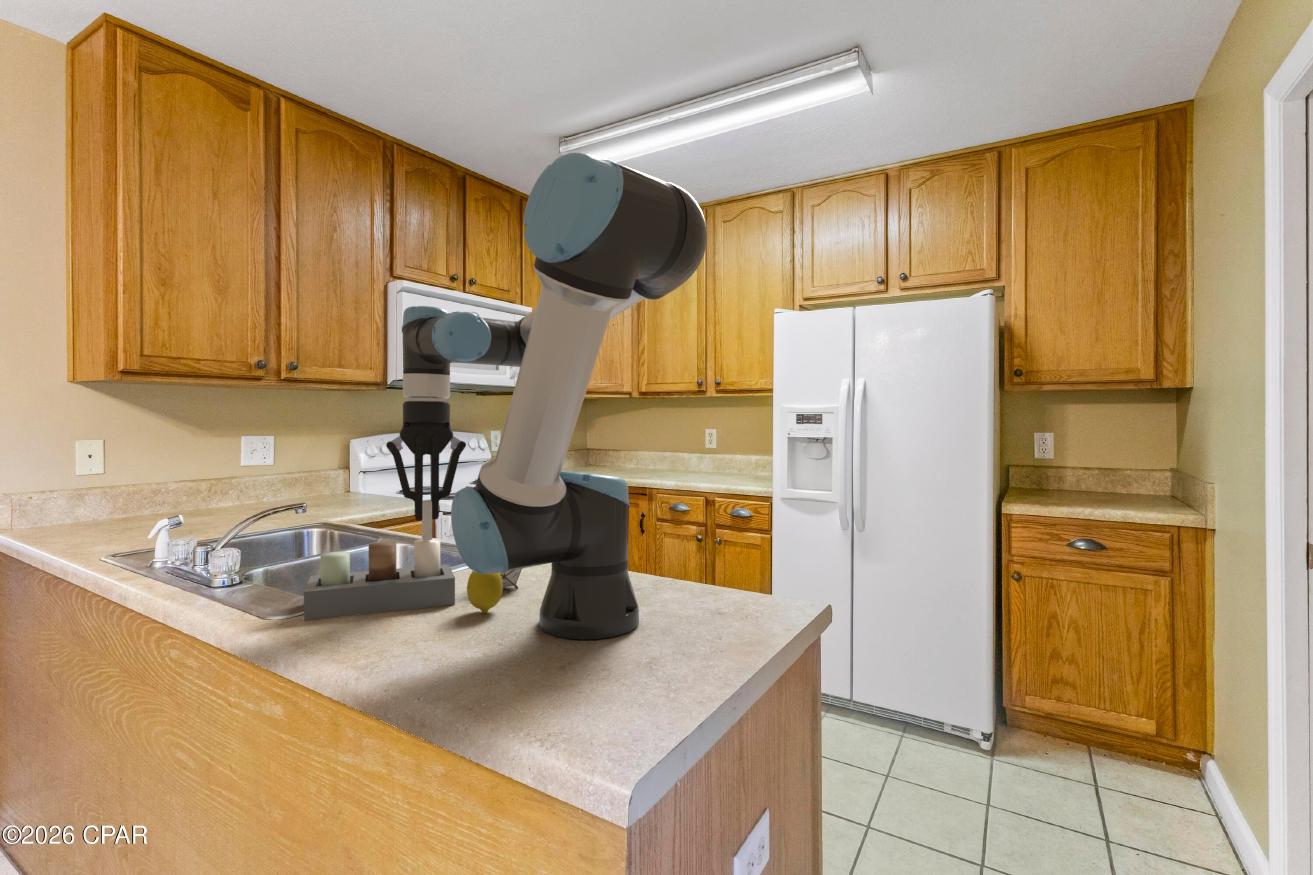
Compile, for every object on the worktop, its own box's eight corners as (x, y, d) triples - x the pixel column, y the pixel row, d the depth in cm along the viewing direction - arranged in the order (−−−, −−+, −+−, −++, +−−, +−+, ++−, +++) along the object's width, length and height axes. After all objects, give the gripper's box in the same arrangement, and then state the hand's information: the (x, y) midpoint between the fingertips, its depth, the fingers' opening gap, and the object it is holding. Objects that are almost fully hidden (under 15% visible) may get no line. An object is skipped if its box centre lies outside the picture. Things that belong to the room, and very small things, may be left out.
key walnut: (396, 587, 103) (396, 545, 103) (368, 590, 101) (368, 547, 101) (396, 581, 107) (395, 540, 107) (369, 583, 105) (368, 542, 105)
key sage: (349, 599, 100) (349, 556, 100) (319, 602, 99) (319, 558, 98) (350, 592, 104) (350, 550, 104) (322, 595, 103) (321, 552, 102)
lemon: (493, 619, 97) (493, 568, 97) (460, 616, 98) (460, 566, 98) (508, 608, 102) (508, 560, 102) (477, 606, 104) (477, 558, 103)
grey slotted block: (454, 604, 104) (454, 577, 104) (304, 620, 95) (303, 591, 95) (449, 588, 113) (448, 564, 113) (310, 602, 104) (310, 575, 104)
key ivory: (441, 583, 106) (441, 542, 106) (414, 585, 104) (414, 544, 104) (439, 577, 110) (439, 537, 110) (413, 579, 108) (413, 539, 108)
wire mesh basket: (490, 609, 114) (460, 563, 115) (526, 584, 120) (497, 541, 121) (508, 595, 107) (475, 547, 108) (545, 569, 113) (513, 524, 114)
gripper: (464, 401, 112) (463, 532, 113) (384, 399, 107) (385, 537, 108) (469, 400, 105) (469, 540, 106) (384, 399, 100) (385, 545, 101)
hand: (426, 538), depth 107 cm, fingers closed
